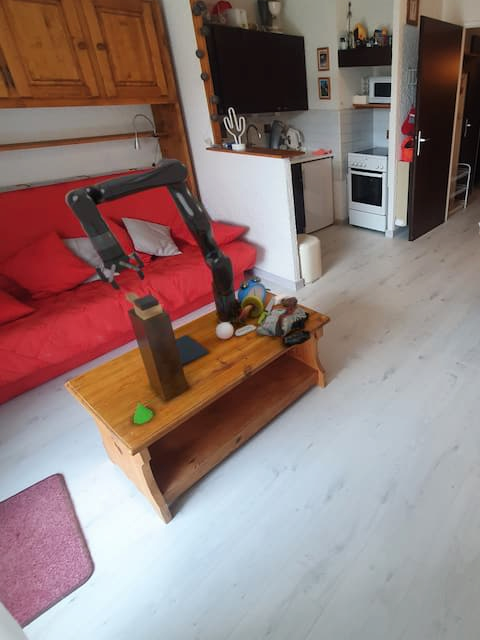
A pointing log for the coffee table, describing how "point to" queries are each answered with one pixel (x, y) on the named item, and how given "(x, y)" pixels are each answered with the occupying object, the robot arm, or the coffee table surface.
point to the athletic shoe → (291, 320)
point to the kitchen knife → (266, 311)
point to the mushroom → (249, 309)
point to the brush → (144, 305)
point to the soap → (245, 330)
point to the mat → (189, 349)
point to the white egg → (224, 330)
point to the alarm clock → (251, 289)
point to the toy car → (296, 338)
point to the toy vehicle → (280, 298)
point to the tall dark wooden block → (159, 354)
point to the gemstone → (142, 414)
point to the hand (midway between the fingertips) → (131, 284)
